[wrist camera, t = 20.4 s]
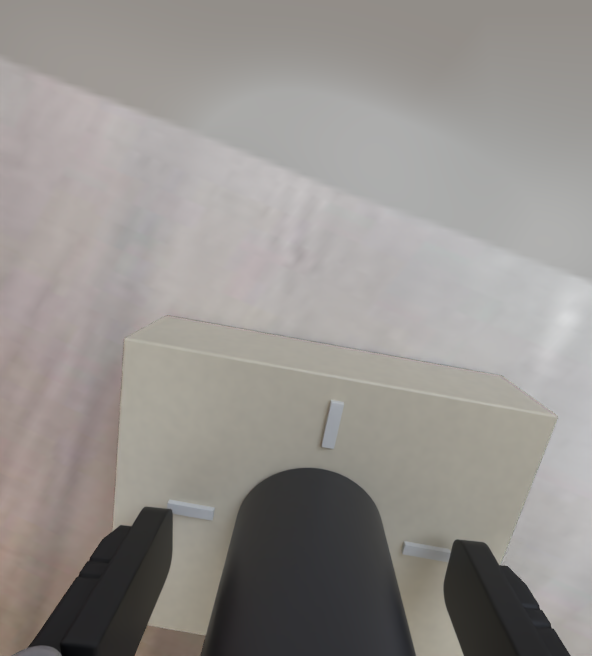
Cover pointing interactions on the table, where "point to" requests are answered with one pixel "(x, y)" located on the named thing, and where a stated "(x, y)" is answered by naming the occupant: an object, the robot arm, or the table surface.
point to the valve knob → (308, 574)
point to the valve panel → (319, 453)
